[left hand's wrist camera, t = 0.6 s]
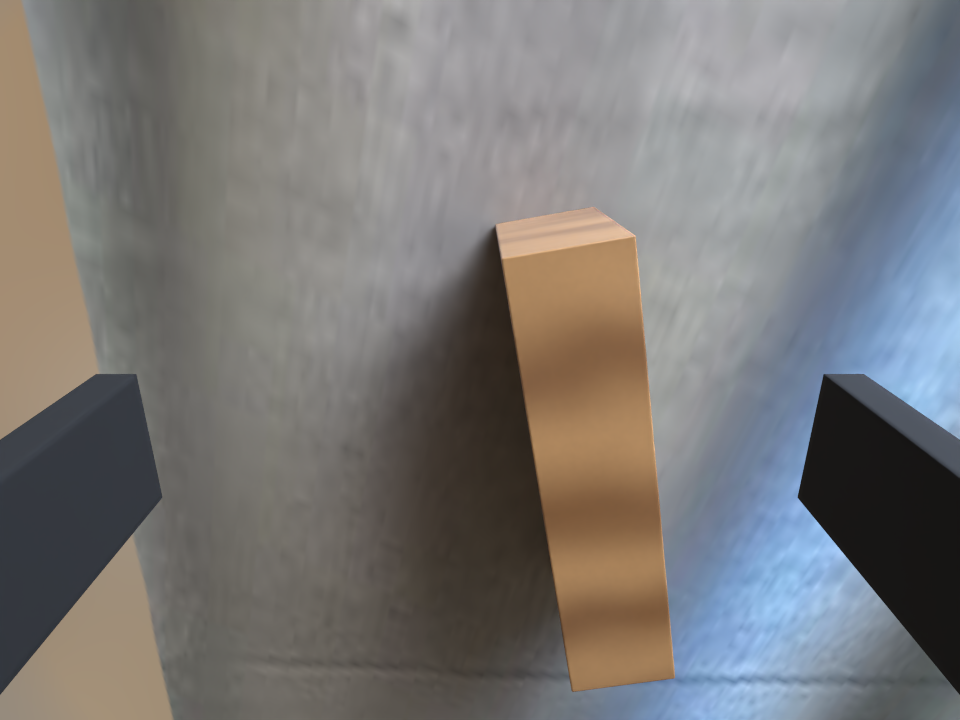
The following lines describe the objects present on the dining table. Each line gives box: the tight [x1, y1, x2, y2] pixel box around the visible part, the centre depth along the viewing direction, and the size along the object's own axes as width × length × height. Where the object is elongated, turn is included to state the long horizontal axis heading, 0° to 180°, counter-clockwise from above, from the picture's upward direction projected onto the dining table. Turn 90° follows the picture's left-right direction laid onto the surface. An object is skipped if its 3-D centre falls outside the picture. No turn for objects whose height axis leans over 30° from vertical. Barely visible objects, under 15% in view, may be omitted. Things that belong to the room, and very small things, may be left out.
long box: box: [495, 207, 675, 692], centre depth 38 cm, size 26×6×11 cm, turn 10°
